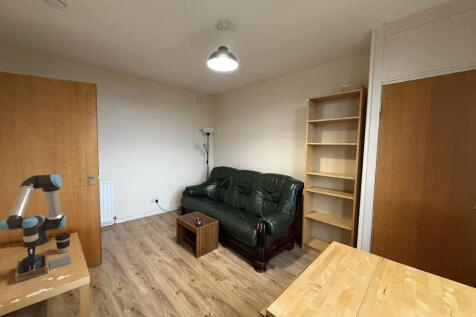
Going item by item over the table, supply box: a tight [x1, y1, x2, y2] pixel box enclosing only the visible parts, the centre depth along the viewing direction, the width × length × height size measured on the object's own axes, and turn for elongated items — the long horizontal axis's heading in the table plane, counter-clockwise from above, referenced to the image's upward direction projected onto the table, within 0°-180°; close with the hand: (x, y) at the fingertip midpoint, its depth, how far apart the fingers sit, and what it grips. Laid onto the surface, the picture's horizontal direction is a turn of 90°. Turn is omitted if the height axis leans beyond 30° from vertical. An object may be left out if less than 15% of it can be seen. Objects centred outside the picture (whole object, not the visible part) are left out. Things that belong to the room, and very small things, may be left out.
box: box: [22, 254, 43, 274], centre depth 146 cm, size 8×6×11 cm
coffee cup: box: [54, 232, 71, 254], centre depth 171 cm, size 10×10×15 cm
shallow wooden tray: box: [14, 253, 49, 284], centre depth 146 cm, size 22×15×5 cm
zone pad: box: [49, 255, 72, 270], centre depth 156 cm, size 12×12×1 cm
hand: (32, 270), depth 146 cm, fingers closed on box, 9 cm apart
